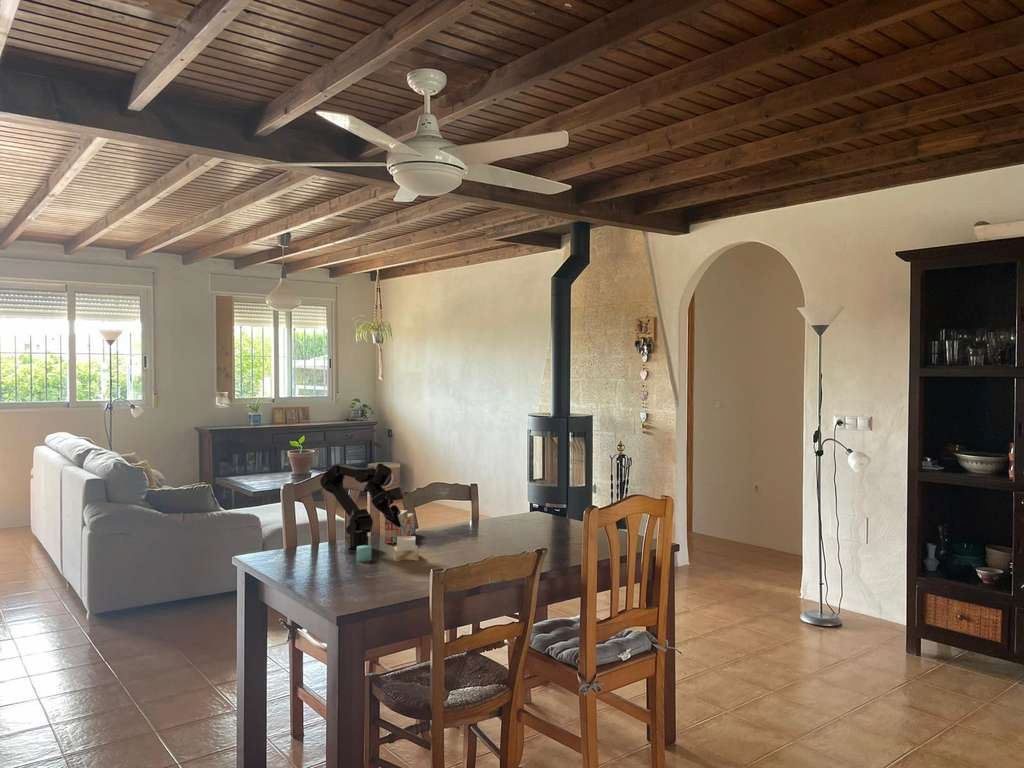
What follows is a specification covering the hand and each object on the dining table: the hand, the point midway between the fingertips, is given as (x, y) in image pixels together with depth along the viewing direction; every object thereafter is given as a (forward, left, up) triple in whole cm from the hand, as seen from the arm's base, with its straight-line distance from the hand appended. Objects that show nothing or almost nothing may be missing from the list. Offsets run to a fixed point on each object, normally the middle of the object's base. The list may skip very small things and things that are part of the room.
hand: (396, 523), depth 302 cm
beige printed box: (-13, +33, -14) cm, 38 cm away
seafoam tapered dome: (-11, -6, -14) cm, 18 cm away
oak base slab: (+3, +2, -14) cm, 15 cm away
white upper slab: (+3, +2, -10) cm, 11 cm away
